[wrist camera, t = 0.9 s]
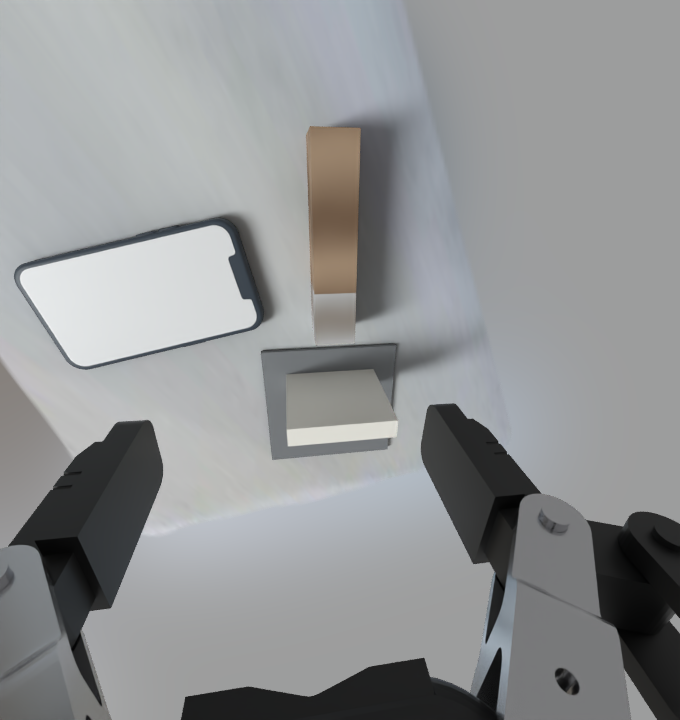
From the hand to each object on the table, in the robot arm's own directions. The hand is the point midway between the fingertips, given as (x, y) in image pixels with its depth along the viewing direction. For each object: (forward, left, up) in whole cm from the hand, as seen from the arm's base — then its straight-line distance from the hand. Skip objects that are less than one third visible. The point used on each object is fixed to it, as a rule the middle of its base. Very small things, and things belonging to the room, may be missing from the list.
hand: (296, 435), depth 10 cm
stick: (-3, +3, -20) cm, 20 cm away
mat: (+12, +3, -20) cm, 24 cm away
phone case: (+1, -11, -21) cm, 23 cm away
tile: (+9, +3, -20) cm, 22 cm away
